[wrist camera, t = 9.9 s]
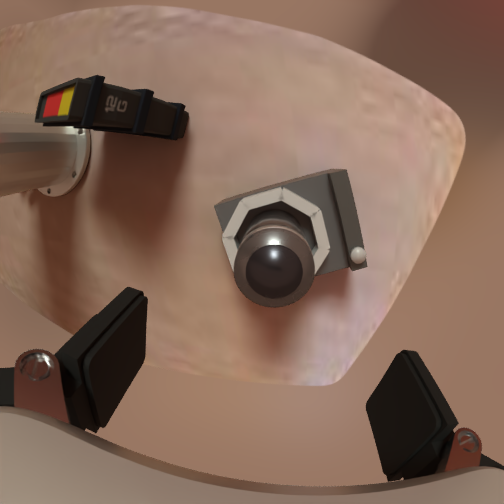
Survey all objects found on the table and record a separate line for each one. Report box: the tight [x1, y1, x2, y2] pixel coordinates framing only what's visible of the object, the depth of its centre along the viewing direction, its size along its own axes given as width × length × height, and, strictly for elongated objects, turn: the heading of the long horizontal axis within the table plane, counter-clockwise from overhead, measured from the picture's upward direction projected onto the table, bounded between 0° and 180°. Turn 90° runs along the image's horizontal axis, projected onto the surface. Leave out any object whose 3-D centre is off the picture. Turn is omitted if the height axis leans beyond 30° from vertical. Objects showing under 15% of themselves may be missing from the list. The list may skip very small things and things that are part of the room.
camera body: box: [214, 169, 367, 276], centre depth 27 cm, size 12×9×7 cm
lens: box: [234, 209, 315, 307], centre depth 21 cm, size 5×5×8 cm
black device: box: [34, 75, 189, 140], centre depth 22 cm, size 4×13×15 cm, turn 76°
